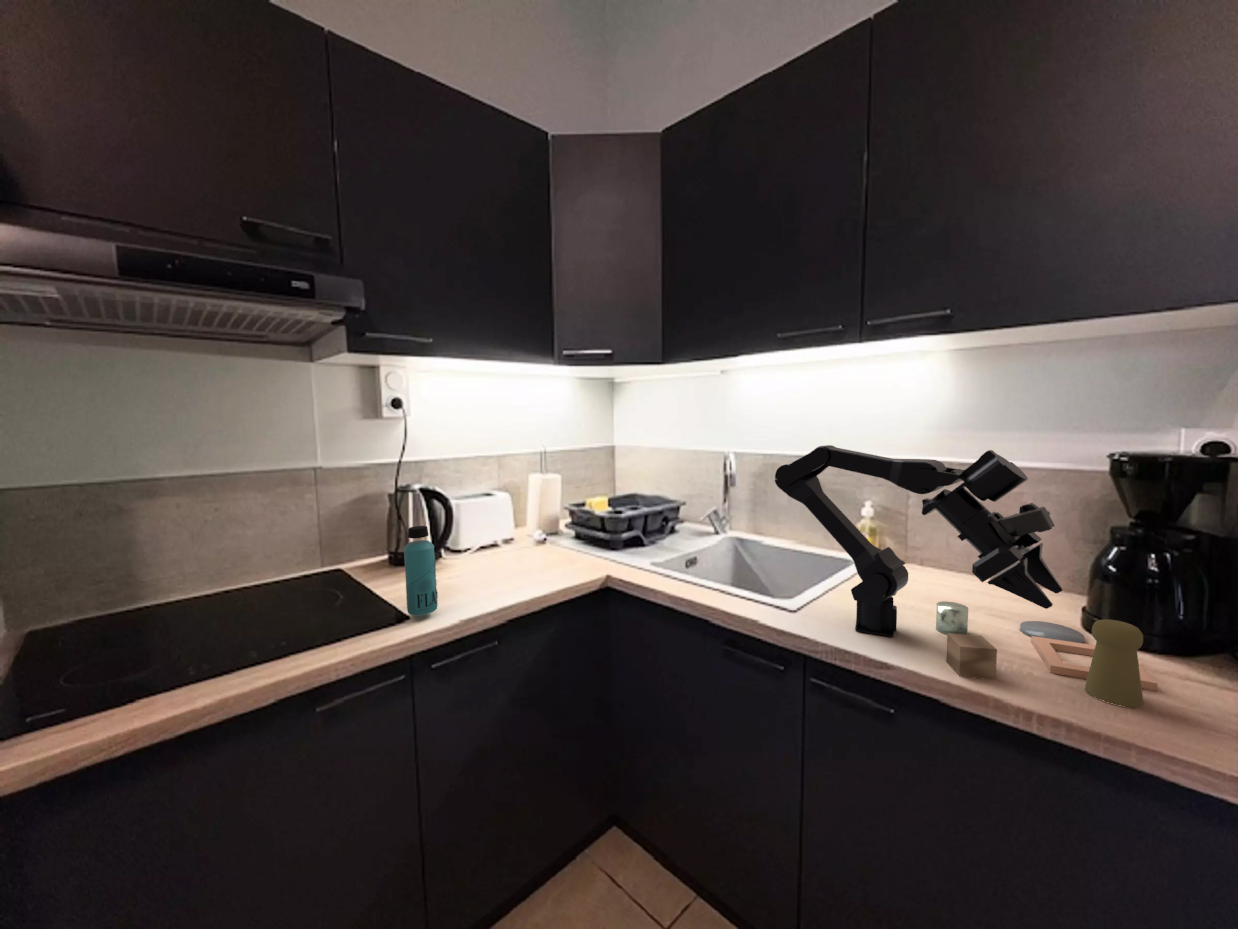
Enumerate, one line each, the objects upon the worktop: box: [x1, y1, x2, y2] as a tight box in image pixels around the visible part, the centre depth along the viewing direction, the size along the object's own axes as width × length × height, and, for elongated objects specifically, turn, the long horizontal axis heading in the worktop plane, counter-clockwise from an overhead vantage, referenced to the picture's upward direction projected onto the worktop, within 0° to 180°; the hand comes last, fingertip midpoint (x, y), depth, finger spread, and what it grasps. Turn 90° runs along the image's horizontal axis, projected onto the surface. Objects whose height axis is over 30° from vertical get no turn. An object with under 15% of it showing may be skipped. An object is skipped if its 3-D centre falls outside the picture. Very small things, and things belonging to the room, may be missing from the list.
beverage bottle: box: [403, 525, 439, 616], centre depth 106 cm, size 6×7×20 cm
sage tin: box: [935, 600, 969, 636], centre depth 93 cm, size 5×5×5 cm
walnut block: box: [945, 633, 998, 680], centre depth 79 cm, size 5×5×5 cm
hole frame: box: [1030, 636, 1158, 692], centre depth 80 cm, size 12×12×1 cm
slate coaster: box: [1019, 620, 1086, 644], centre depth 91 cm, size 9×9×1 cm
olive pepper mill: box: [1084, 619, 1144, 709], centre depth 70 cm, size 6×6×11 cm
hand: (1055, 599), depth 75 cm, fingers open, 9 cm apart
